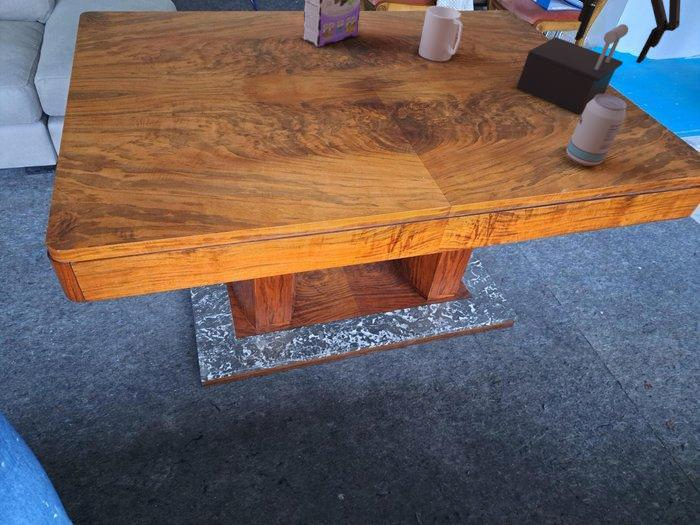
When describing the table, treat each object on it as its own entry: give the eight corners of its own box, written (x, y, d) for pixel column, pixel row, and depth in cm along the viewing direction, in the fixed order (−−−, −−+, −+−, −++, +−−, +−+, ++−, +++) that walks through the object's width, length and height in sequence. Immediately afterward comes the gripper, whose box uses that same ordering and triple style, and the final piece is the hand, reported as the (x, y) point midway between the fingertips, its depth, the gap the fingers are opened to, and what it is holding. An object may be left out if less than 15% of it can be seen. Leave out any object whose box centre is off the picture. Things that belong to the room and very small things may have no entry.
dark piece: (602, 96, 119) (618, 64, 114) (578, 114, 111) (594, 80, 106) (542, 72, 126) (554, 40, 120) (516, 88, 118) (527, 54, 112)
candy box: (342, 28, 134) (348, -42, 122) (358, 36, 131) (365, -35, 119) (302, 39, 126) (304, -35, 115) (317, 47, 123) (321, -28, 112)
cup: (440, 69, 121) (449, 26, 114) (412, 49, 128) (419, 7, 121) (466, 65, 124) (478, 22, 117) (438, 45, 131) (447, 4, 124)
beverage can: (572, 145, 101) (598, 88, 93) (605, 159, 99) (635, 102, 90) (558, 158, 97) (584, 100, 89) (593, 173, 94) (623, 115, 86)
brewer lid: (621, 65, 113) (641, 24, 107) (598, 81, 105) (617, 39, 99) (554, 40, 120) (569, 1, 114) (527, 54, 112) (542, 13, 106)
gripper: (589, -82, 96) (547, 33, 111) (728, -46, 85) (661, 76, 100) (604, -85, 100) (562, 26, 115) (739, -52, 89) (673, 66, 104)
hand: (608, 49), depth 107 cm, fingers open, 13 cm apart
